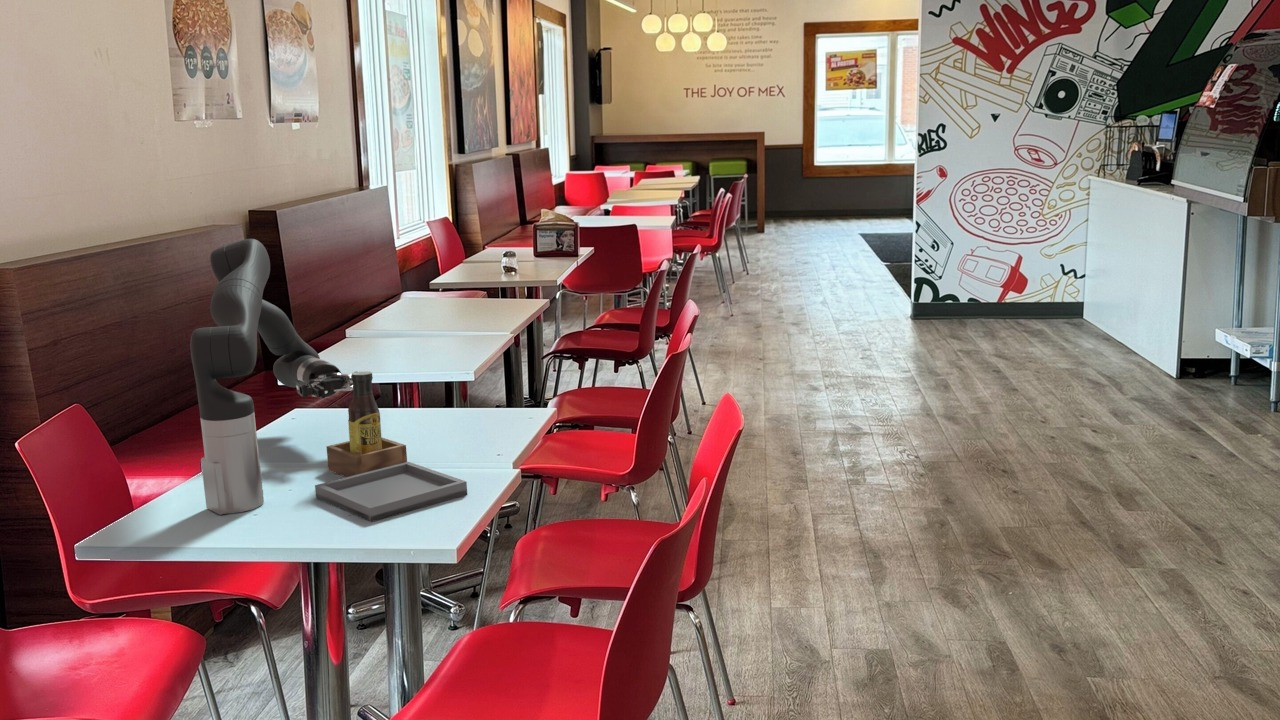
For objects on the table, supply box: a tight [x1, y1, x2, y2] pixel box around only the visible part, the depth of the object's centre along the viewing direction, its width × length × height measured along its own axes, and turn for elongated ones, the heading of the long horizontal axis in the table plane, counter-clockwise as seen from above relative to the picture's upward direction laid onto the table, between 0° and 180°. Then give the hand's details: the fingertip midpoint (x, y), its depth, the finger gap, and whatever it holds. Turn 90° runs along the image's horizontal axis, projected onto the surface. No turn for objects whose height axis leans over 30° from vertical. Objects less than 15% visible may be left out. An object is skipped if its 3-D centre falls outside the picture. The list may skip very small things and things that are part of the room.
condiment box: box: [325, 436, 408, 478], centre depth 227 cm, size 11×12×5 cm
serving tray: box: [314, 461, 468, 523], centre depth 210 cm, size 20×20×2 cm
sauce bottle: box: [347, 370, 382, 455], centre depth 226 cm, size 6×6×20 cm
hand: (343, 390), depth 234 cm, fingers open, 8 cm apart
